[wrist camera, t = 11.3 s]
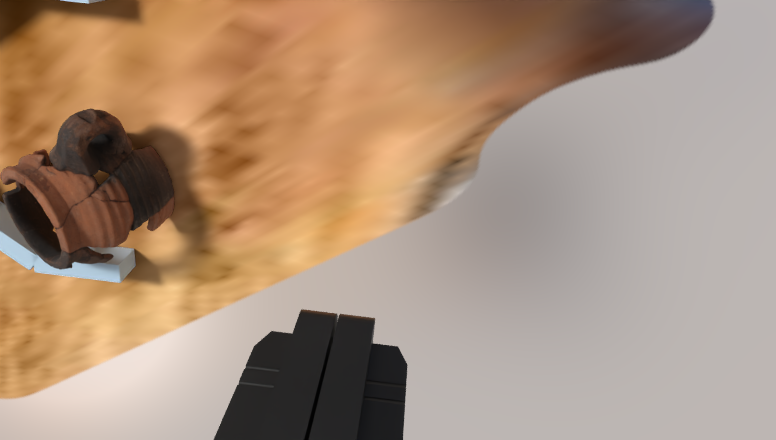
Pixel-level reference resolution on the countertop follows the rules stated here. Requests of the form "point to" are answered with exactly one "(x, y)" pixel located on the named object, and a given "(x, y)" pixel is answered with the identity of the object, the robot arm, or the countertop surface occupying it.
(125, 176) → the pottery mug
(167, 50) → the countertop surface
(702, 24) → the countertop surface
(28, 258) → the collar
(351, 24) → the countertop surface
